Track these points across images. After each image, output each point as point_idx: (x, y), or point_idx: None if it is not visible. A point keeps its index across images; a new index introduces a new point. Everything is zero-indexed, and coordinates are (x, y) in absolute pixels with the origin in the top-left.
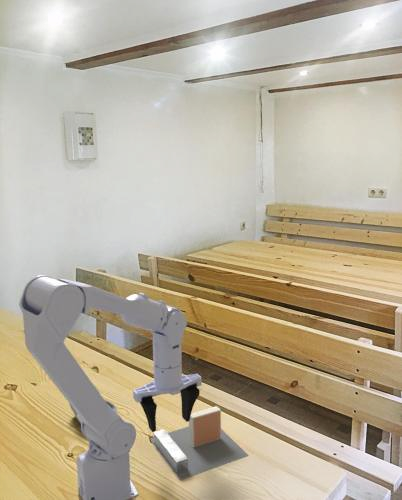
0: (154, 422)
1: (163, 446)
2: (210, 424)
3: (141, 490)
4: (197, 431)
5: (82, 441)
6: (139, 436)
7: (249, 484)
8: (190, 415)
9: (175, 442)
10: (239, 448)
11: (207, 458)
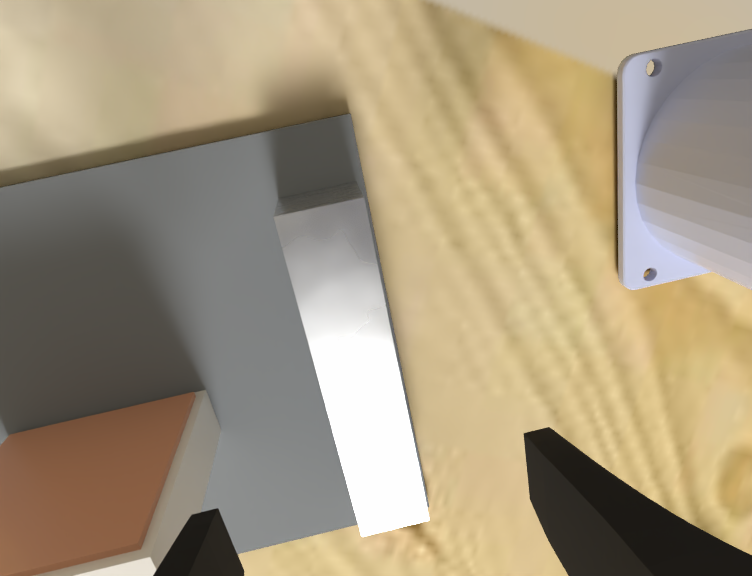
0: (590, 487)
1: (402, 389)
2: (20, 506)
3: (581, 111)
4: (145, 461)
5: None
6: (466, 532)
7: None
8: (161, 562)
9: (300, 451)
10: None
11: (130, 271)
